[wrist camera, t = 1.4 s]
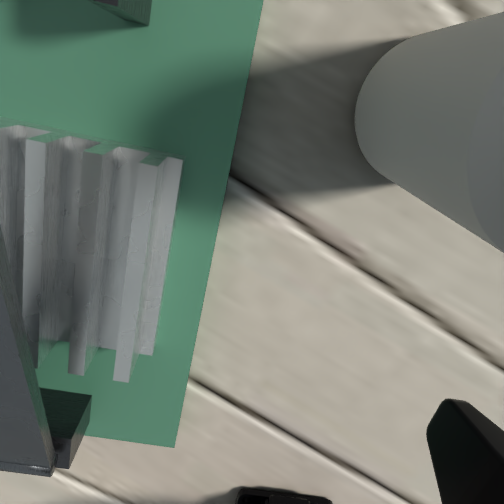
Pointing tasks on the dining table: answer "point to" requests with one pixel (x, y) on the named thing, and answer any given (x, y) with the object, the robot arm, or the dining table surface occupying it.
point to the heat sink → (87, 246)
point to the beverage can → (442, 122)
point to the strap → (20, 390)
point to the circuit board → (145, 135)
